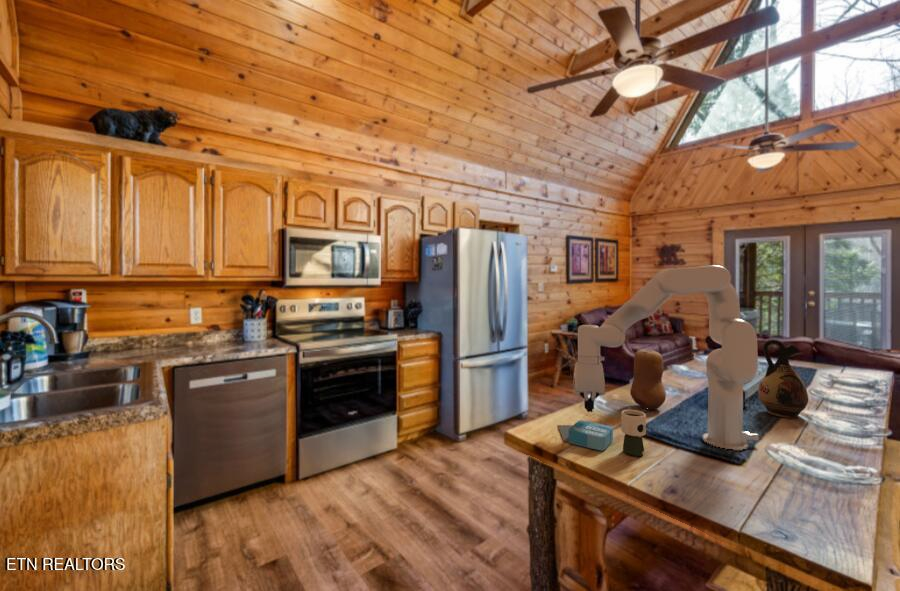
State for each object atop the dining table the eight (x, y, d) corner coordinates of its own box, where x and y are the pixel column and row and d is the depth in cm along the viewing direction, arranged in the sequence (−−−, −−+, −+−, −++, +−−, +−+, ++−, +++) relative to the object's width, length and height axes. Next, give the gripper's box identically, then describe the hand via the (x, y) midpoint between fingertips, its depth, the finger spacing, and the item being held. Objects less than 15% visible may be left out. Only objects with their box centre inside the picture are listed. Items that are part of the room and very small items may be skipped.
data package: (614, 426, 137) (603, 437, 128) (614, 439, 137) (603, 451, 128) (579, 419, 144) (567, 429, 135) (579, 431, 145) (567, 442, 135)
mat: (590, 426, 150) (590, 425, 150) (600, 443, 135) (600, 441, 135) (557, 425, 152) (557, 424, 152) (563, 441, 137) (563, 440, 137)
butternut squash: (672, 409, 169) (672, 350, 168) (655, 415, 161) (655, 354, 160) (640, 401, 180) (640, 346, 180) (623, 406, 173) (623, 349, 172)
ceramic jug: (803, 412, 163) (804, 338, 162) (811, 423, 150) (813, 344, 149) (751, 405, 172) (752, 336, 171) (755, 416, 159) (756, 341, 158)
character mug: (638, 462, 121) (638, 420, 120) (614, 455, 126) (614, 414, 125) (651, 451, 128) (651, 411, 128) (629, 445, 133) (629, 406, 133)
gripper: (608, 357, 145) (608, 407, 146) (565, 357, 147) (565, 406, 147) (613, 362, 137) (613, 414, 138) (569, 361, 139) (569, 413, 140)
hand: (589, 410), depth 143 cm, fingers closed
